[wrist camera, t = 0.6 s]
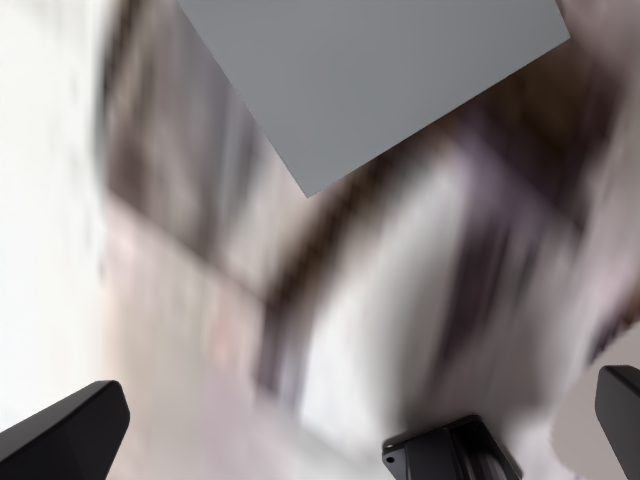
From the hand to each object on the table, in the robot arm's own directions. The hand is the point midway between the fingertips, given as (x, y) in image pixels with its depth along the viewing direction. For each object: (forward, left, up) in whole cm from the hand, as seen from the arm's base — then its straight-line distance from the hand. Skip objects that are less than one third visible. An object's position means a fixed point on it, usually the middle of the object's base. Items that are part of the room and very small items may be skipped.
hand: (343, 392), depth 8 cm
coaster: (+7, -5, -13) cm, 15 cm away
